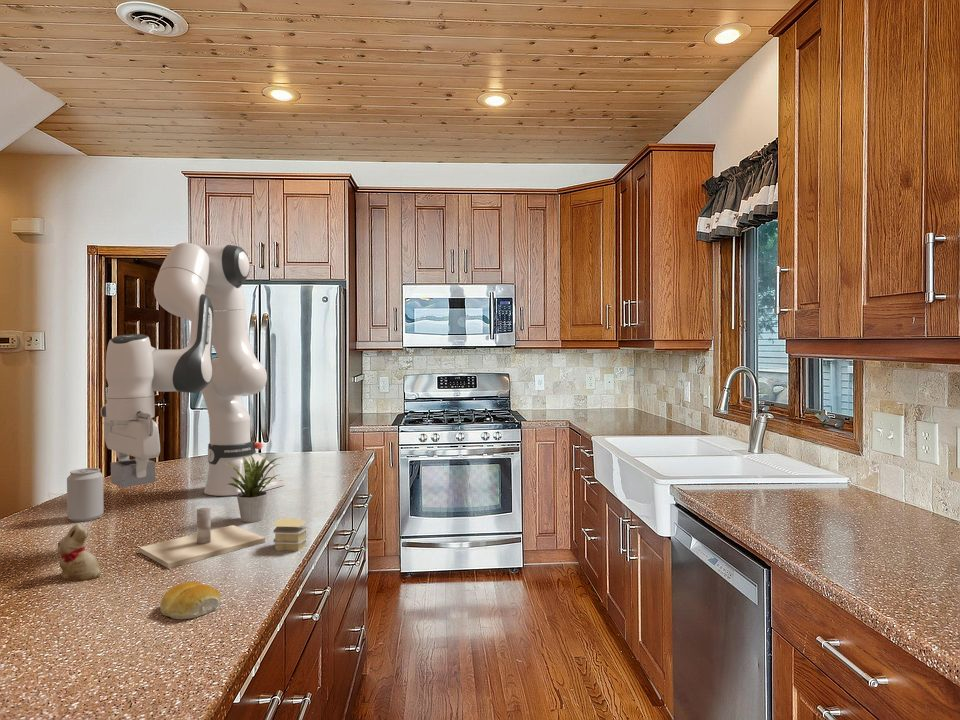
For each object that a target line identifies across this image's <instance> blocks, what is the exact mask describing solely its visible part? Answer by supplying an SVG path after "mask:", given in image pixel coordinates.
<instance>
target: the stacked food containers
mask: <svg viewBox="0 0 960 720" xmlns="http://www.w3.org/2000/svg"><path fill="white" fill-rule="evenodd" d="M306 523H308V521H307V520H302V519H297V518H289V517H285V518H281V519H277V520H276V521H275V522H274V523H273V526H274V527H275V528H274V529H273V531H272V533H273V534H274V535H275V536H274V537H275V538H274V539H273V541H272V543H273V544H274V546H275V547H274V548H275V549H274V550H275V551H279V552H280V551H292V552H293V551H295V552H299V551H300V550H302V549H303V548H305V547H306V546H307V539H308V538H309V537H308V536H307V530H309V527H308V526H304V525H305V524H306Z"/></svg>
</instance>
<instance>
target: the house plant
mask: <svg viewBox="0 0 960 720" xmlns="http://www.w3.org/2000/svg"><path fill="white" fill-rule="evenodd" d="M249 454H250V453H249ZM247 456H248V455H247ZM250 457H251V459H252V463H251V460H250V458H249V456H248V458H249V460H250V464H251V466H250V464H249V463H248V462H247V460H246V459H245V458H244V457H243V462H244V470H245V479H244V477H243V476H242V475H241V474H240V473H239V471H238V470H237V469H236V468H234V467H233V466H231V465H229V464H228V465H229V466H231V467H232V468H233V469H234V470H235V471H236V472H237V474H238V475H239V476H240V478H241V479H242V480H243V482H244V483H245V484H243V483H242V482H241V481H239V480H238V479H236V478H234V477H231V478H232V479H233V480H234V481H235V482H236V483H237V484H234V483H229V484H228V485H232V486H235V487H237V488H238V489H239V490H240V491H241V492H242V493H239V494H238V495H236V498H237V504H238V510H239V515H240V520H241V522H242V523H243V522H244V523H255V522H260V521H263V520H264V518H265V514H266V513H265V512H266V507H267V500H268V491H267V490H264V491H262V490H263V488H265V486H266V485H268V484H269V483H270V481H271V480H272V479H273V478H274V477H276V476H277V477H278V476H279V474H276V476H274V477H267V478H265V476H266V475H267V474H268V472H269V471H270V470H271V469H272V468H273V467H276V466H279V465H280V466H281V464H280V463H277V464H275V461H277V460H278V459H283V458H284V457H283V456H281V457H277V458H274V459H272V460H270V461H269V463H268V464H267V465H266V466H265V467H264V468H263V466H264V464H265V462H266V461H267V458H268V455H266V456H264V457H263V460H262V461H261V463H260V465H259V461H257V462H256V465H255V460H254V459H253V457H252V455H251V454H250ZM222 463H223V462H222ZM225 464H227V463H225ZM270 464H273V465H274V464H275V465H274V466H272V467H271V468H270V469H269V470H268V472H267V473H266V475H265V476H264V478H263V480H262V481H261V482H260V483H259V480H260V478H261V476H262V475H263V473H264V471H265V470H266V469H267V467H268V466H269V465H270ZM262 468H263V469H262ZM251 469H252V471H251ZM281 475H283V474H280V476H281ZM269 478H271V479H270V480H269V481H268V482H264V481H265V480H267V479H269ZM274 479H276V478H274ZM276 480H277V479H276ZM263 482H264V483H266V484H265V485H264V486H262V485H263V484H264V483H263ZM258 483H259V485H258ZM238 485H240V487H241V488H242V489H243V490H244V491H245V492H243V490H242V489H241V488H240V487H239V486H238ZM261 487H263V488H262V489H261ZM260 489H261V490H260ZM265 489H266V488H265ZM259 490H260V491H259Z"/></svg>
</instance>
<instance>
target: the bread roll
mask: <svg viewBox="0 0 960 720" xmlns="http://www.w3.org/2000/svg"><path fill="white" fill-rule="evenodd" d="M221 598H222V597H221V593H220V591H219V590H218V589H217V588H215V587H214V586H211V585H208V584H203V583H201V582H199V581H185V582H182V583H178V584H176V585H174V586H173V587H170V588H169V589H168V590H167V591H166V592H165V593H164V595H163V596H162V598H161V601H160V605H159V607H160V608H159V609H160V612H161V614H162V615H163V616H166V617H170V619H174V620H189V619H195V618H199V617H200V616H205V615H208V614H209V613H212V612H213V611H215V610H216V609H217V608H218V606H219V603H220V602H221Z"/></svg>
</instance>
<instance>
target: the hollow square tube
mask: <svg viewBox="0 0 960 720" xmlns="http://www.w3.org/2000/svg"><path fill="white" fill-rule="evenodd" d="M134 469H136V461H135V458H134V459H130V460H126V461H119V460H118V461H114V462H110V483H111V484H112V485H116V486H117V487H119V488H122V489H125V488H128V487H135V486H141V485H146V484H151V483H156V462H155V461H154V460H151V459H149V462H148V465H147V468H146V476H145V477H142V478H138V477H135V476H134V474H135V473H134Z"/></svg>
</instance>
